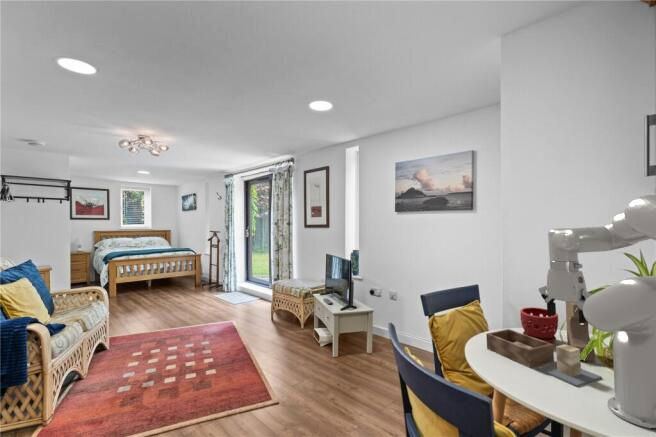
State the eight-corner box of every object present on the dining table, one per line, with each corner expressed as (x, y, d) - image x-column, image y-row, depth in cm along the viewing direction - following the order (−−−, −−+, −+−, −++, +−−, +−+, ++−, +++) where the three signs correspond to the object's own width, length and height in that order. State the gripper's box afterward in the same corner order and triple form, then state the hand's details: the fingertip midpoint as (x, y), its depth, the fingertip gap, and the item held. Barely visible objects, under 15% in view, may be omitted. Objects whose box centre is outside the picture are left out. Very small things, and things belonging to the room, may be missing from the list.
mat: (601, 378, 99) (601, 376, 99) (576, 386, 95) (576, 384, 95) (561, 362, 110) (561, 361, 110) (538, 369, 106) (538, 368, 106)
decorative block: (595, 363, 109) (592, 305, 110) (575, 360, 112) (572, 304, 112) (585, 350, 119) (583, 298, 120) (567, 348, 122) (565, 297, 122)
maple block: (581, 373, 101) (579, 349, 101) (572, 376, 100) (570, 351, 100) (566, 367, 106) (565, 344, 106) (557, 370, 104) (556, 346, 104)
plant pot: (514, 338, 134) (513, 310, 134) (532, 332, 140) (531, 305, 140) (548, 349, 122) (546, 318, 122) (565, 341, 128) (564, 312, 128)
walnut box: (554, 361, 112) (553, 344, 112) (530, 368, 108) (529, 350, 108) (509, 343, 129) (508, 328, 129) (487, 348, 125) (486, 333, 125)
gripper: (601, 267, 96) (605, 323, 96) (545, 262, 112) (548, 310, 112) (586, 270, 93) (589, 327, 93) (530, 264, 110) (533, 313, 109)
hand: (567, 318), depth 102 cm, fingers open, 9 cm apart
